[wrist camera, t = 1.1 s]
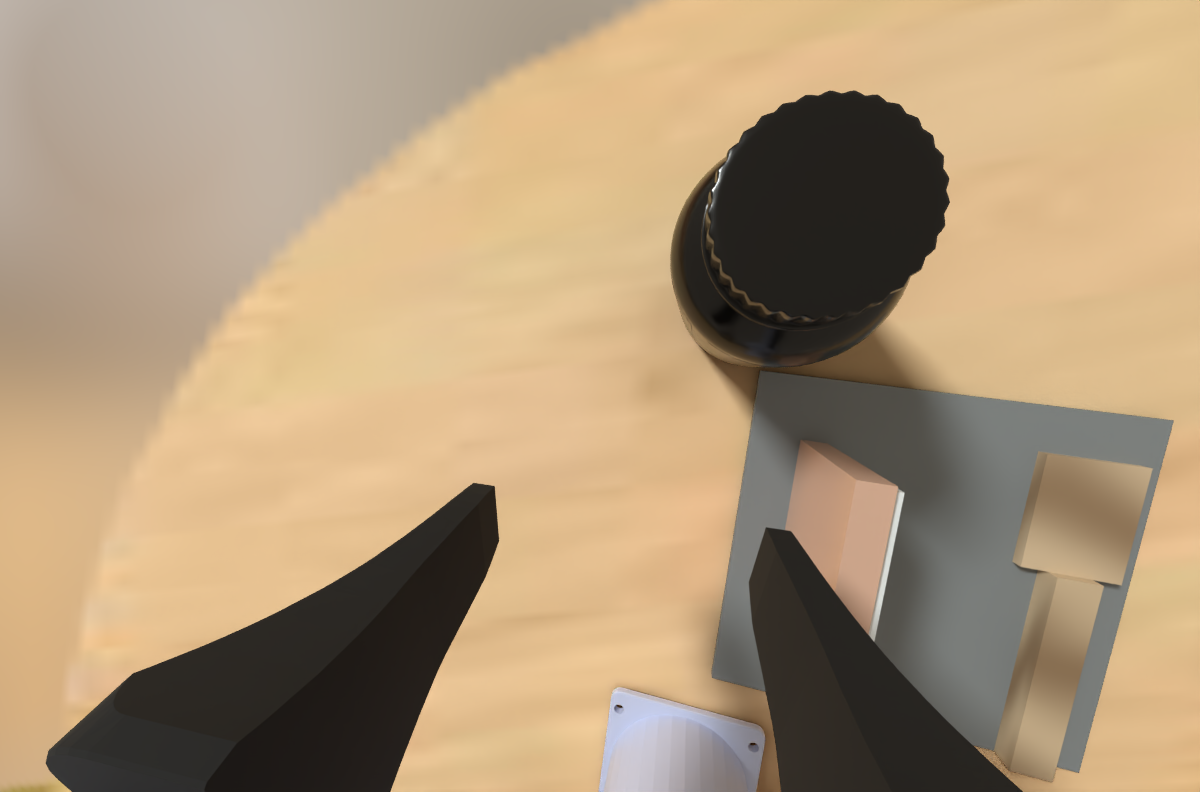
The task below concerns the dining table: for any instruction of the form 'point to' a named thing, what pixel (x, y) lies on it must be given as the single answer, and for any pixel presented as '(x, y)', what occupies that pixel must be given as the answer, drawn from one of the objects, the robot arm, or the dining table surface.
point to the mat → (936, 531)
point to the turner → (1064, 594)
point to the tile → (845, 526)
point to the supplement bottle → (808, 230)
